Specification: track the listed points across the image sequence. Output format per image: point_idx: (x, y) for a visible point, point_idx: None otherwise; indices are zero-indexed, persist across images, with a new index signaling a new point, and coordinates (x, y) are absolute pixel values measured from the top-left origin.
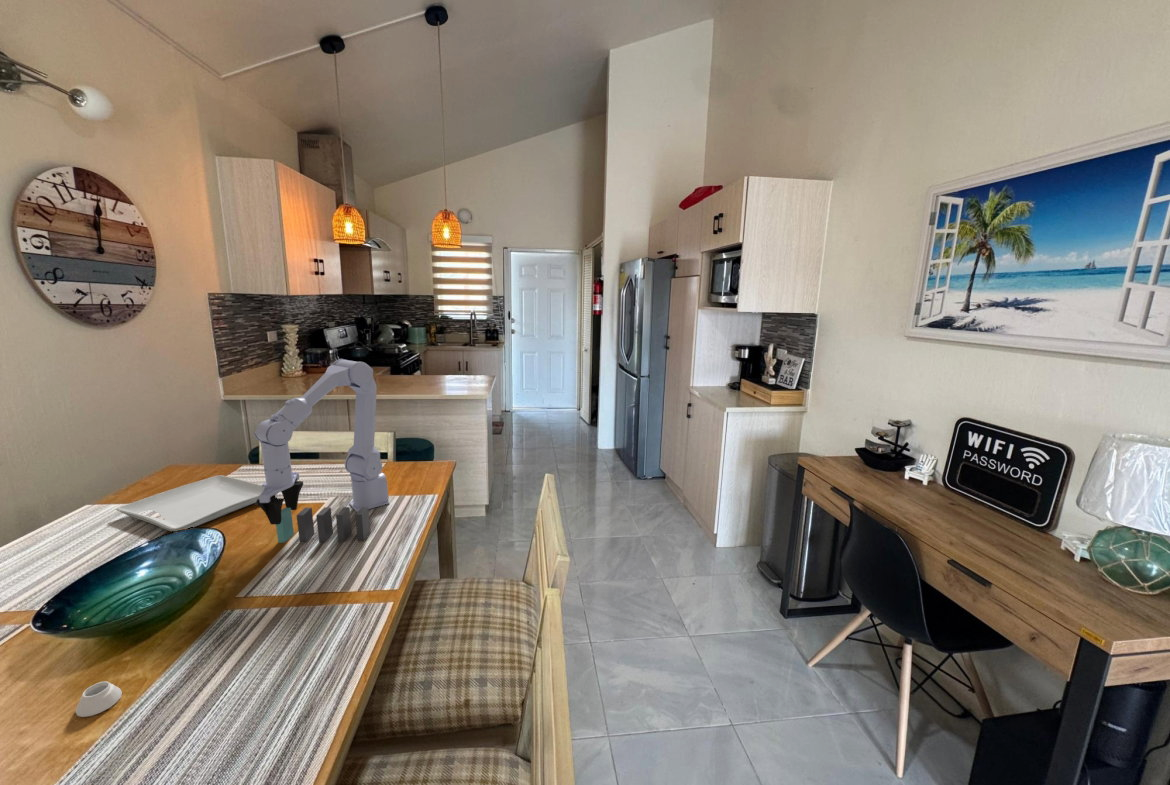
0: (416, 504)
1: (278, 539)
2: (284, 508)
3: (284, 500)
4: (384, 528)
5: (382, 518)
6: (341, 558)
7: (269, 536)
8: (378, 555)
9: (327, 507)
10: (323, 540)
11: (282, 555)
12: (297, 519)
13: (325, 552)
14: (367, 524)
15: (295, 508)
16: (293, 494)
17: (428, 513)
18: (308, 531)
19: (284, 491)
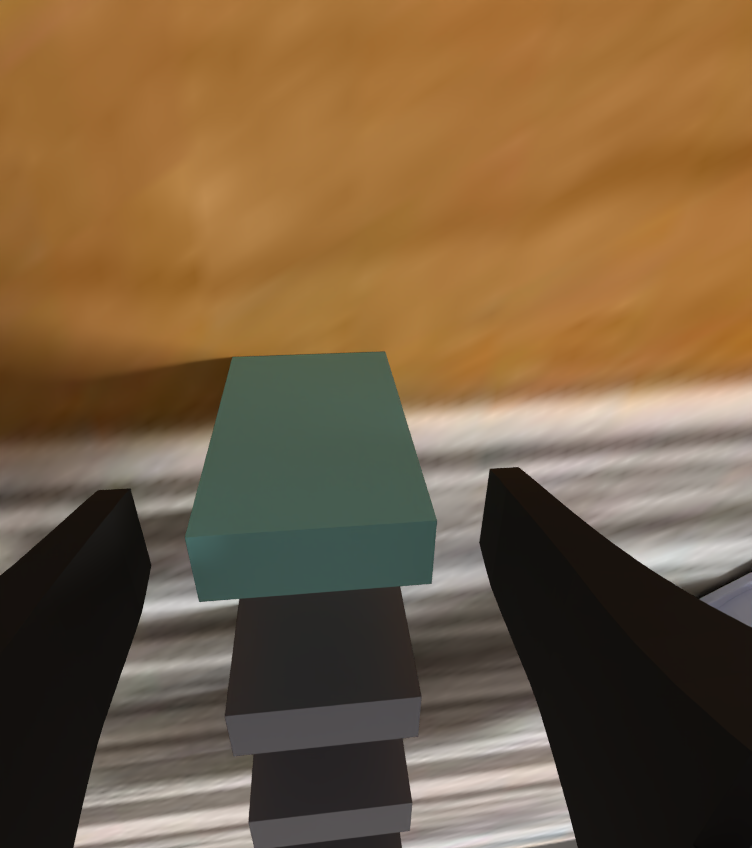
0: None
1: (230, 374)
2: (416, 530)
3: (554, 540)
4: (420, 776)
5: (535, 737)
6: (105, 750)
7: (342, 209)
8: (164, 835)
9: (409, 816)
10: None
11: (52, 487)
12: (232, 673)
13: (148, 675)
14: None
15: (485, 560)
16: (566, 737)
17: (547, 842)
18: None
19: (633, 703)
